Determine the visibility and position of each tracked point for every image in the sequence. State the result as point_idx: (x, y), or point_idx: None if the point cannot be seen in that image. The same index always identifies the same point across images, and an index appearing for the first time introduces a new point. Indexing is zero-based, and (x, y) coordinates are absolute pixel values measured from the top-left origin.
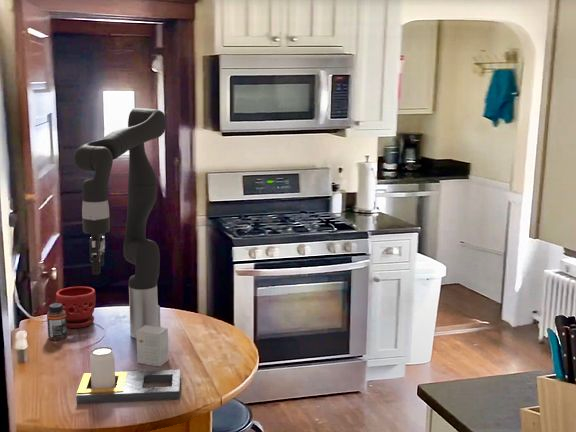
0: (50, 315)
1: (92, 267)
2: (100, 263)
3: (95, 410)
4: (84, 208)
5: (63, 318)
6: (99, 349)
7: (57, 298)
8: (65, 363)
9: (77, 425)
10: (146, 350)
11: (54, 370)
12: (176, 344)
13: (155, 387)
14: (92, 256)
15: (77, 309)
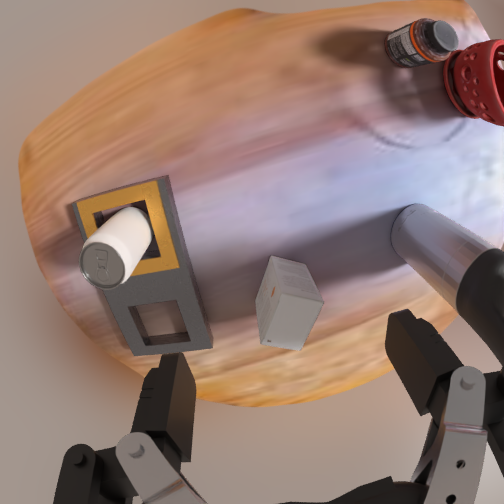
0: (416, 26)
1: (155, 394)
2: (394, 346)
3: (70, 238)
4: None
5: (422, 57)
6: (112, 255)
7: (488, 41)
8: (259, 96)
9: (31, 229)
10: (266, 291)
11: (217, 86)
12: (361, 301)
13: (134, 325)
14: (134, 483)
15: (470, 87)
